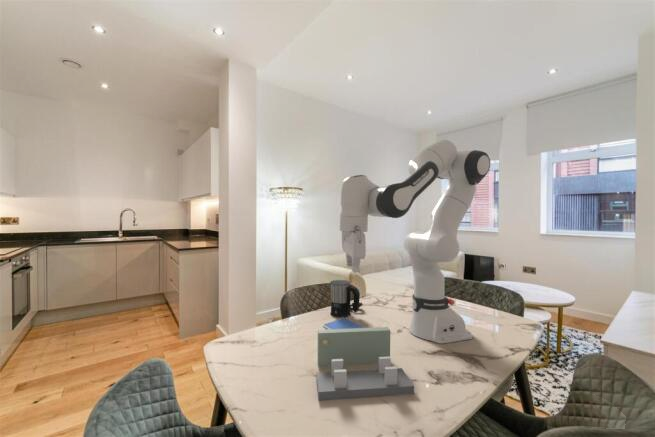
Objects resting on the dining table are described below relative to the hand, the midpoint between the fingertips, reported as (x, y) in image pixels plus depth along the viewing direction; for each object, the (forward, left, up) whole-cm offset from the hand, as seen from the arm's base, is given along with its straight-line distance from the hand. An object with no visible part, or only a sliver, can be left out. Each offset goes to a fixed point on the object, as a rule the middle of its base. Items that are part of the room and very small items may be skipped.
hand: (352, 269), depth 86 cm
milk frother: (-5, -39, -28) cm, 48 cm away
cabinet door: (0, +4, -28) cm, 28 cm away
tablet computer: (-3, -19, -28) cm, 34 cm away
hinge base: (0, +16, -28) cm, 32 cm away
